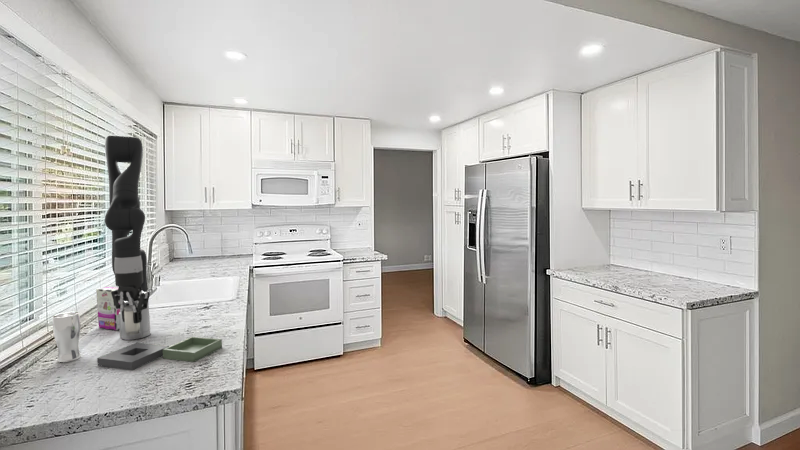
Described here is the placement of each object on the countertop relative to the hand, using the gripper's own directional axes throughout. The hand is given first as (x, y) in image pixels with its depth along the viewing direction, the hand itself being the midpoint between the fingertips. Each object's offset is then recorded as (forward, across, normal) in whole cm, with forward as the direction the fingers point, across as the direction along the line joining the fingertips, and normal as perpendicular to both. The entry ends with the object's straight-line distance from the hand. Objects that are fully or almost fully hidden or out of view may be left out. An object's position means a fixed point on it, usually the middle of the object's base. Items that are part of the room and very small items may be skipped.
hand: (132, 321), depth 132 cm
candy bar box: (+13, -39, +24) cm, 47 cm away
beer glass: (+13, -22, -5) cm, 26 cm away
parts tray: (+12, +15, +9) cm, 22 cm away
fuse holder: (+12, 0, 0) cm, 12 cm away
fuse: (+4, 0, 0) cm, 4 cm away
